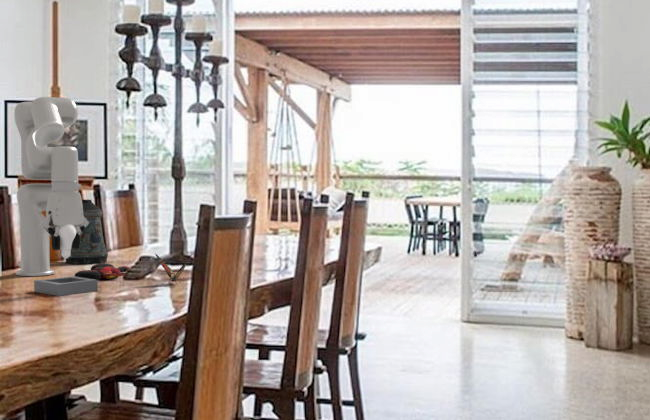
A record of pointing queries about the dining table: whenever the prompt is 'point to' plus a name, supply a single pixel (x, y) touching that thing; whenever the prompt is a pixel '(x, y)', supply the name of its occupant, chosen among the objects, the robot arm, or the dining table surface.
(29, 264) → the robot arm
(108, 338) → the dining table surface
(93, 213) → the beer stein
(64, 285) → the socket tray
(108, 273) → the toy motorcycle
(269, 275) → the dining table surface
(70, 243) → the lightbulb
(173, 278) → the butterfly
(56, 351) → the dining table surface
